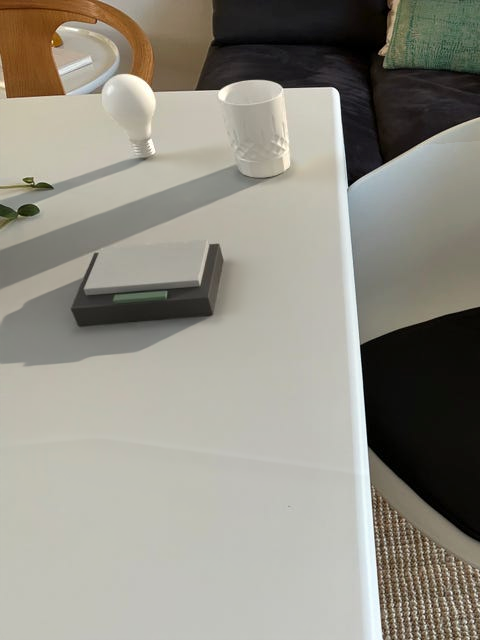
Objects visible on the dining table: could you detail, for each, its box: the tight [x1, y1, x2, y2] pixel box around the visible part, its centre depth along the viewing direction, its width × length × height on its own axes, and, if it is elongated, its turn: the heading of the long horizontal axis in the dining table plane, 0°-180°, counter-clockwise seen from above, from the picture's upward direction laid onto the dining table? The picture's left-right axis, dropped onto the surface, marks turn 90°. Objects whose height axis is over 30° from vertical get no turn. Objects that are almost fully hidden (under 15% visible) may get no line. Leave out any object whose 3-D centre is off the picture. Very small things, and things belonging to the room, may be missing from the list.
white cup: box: [216, 79, 291, 179], centre depth 99 cm, size 8×8×10 cm
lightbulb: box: [100, 73, 157, 159], centre depth 101 cm, size 6×6×11 cm
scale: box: [70, 239, 224, 327], centre depth 80 cm, size 13×10×3 cm
